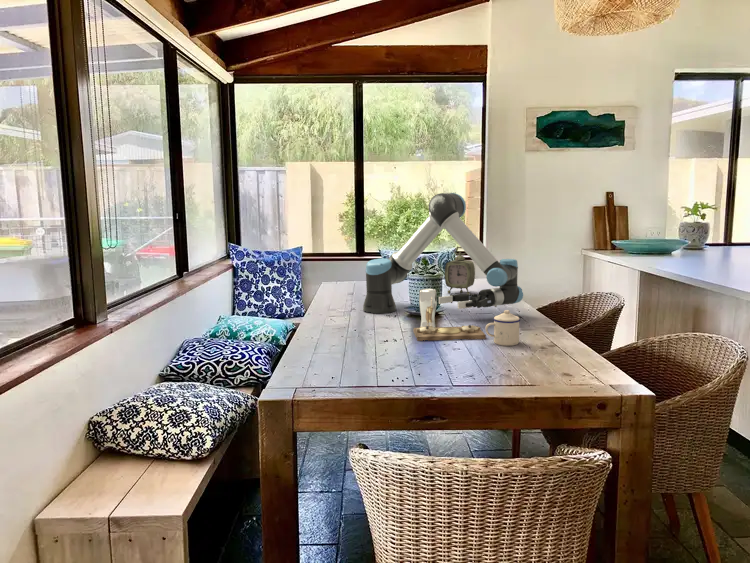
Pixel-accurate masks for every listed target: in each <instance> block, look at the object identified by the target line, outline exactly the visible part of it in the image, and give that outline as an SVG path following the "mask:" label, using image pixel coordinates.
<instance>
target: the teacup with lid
mask: <svg viewBox="0 0 750 563" xmlns="http://www.w3.org/2000/svg"><path fill="white" fill-rule="evenodd" d="M520 321H521V319H520V317H519V315H518V316H517V315H515V314H514V313H511V312H510V310H509V309H505V310H504V311H503V312H502V313H500V314H499V315H495V316H494V317H493V322H489V323H487V324H486V325H485V327H484V328H485V329H484V330H485V333H486V334H487V335H488V336H489V337H492V338H493V342H494V343H495V345H499V346H503V347H504V346H505V347H511V346H516V345H517V346H518V344H519V342H520ZM490 326H493V331H494V332H493V334H492V333H490V332H489V330H488V329H489V327H490Z"/></svg>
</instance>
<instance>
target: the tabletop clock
mask: <svg viewBox="0 0 750 563" xmlns="http://www.w3.org/2000/svg"><path fill="white" fill-rule="evenodd" d="M457 249H462V247H461V246H457V247H455V248H454V250H453V253H454V255H457V256H456V257H455V258H454V260H451V261H448V262H446V264H445V267H444V283H445V286H446V287H448V288H450V289H449V290H447V294H450V293H451V291H452V289H460V290H459V293H460V294H463V292H464V291H463V289H466V294H471V293H470V292H471V291H469V289H468V288H469V287H472V286H473V285H474V283H475V279H476V278H475V277H476V268H475V264H474V263H475V262H474V261H473V260H472V261H471V260H467V259H466V258H465V256H464V255H466V254H467V253H466V252H465V251H464V253H462V252H461V251H459V252H458V253H457V252H456V250H457Z"/></svg>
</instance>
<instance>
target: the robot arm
mask: <svg viewBox="0 0 750 563" xmlns="http://www.w3.org/2000/svg"><path fill="white" fill-rule="evenodd" d="M466 207H467V204H466V201H465V199H464V197H462V195H460V194H458V193H455V192H448V193H444V192H441V193H437V194H435V195H433V197H431V199H430V200H429V203H428V213H429V214H428V215H429V216H428V217H426V219H425V220H424V221H423V222H422V224H421V225H420V226H419V227H418V228H417V230H416V231H414V233H413V234H412V235H411V236H410V237H409V239H407V241H406V242H405V243H404V244H403V246H402V247H401V248H400V249H399V251H394V252H392V254H391V255H390V256H389V257H388V258H375V259H371V260H368V262H366V264H365V281H366V282H365V283H366V284H365V286H366V295H365V298H364V302H363V305H362V311H363V310H364V311H366V312H365V313H368V312H371V313H370V314H387V313H388V312H389V313H392V312H393V313H394V312H395V311H396V310H397V309H396V307H397V306H396V302H395V299H394V296H393V294H392V293H393V292H392V291H393V290H392V289H393V288H392V287H393V286H392V285H395V284H401V283H402V282H404V281H405V280H407V278H408V277H407V273H409V272H410V271H411V270H412V269H413V263H414V262H415V261H416V260H417V259H418V258H419V257H420V256H421V254H422V253H423V252H424V251H425V250H426V249H427V247H428V246H429V245H430V244H431V243H432V242H433V241H434V240H435V239H436V237H437V236H438V235H440V233H441V231H443V229H445V230H446V232H447V233H448V234H449V235H450V236H451V237H452V239H453V240H454V241H455V242H456V243H457V244H458V245H459V247H462V248H461V249H462V250H463V251H464V253H465V252H466V254H467V256H468V257H469V258H470V259H471V260H472V262H473V263H475V265H476V266H477V267H478V268H479V269H480V271H482V272H483V273H484V275H485V276H486V281H487V283H488V285H490V286H492V288H485V289H481V290H479V292H478V293H470V294H467V293H460V294H459V293H458V294H456V293H455V294H450V293H449V295H447V296H438V304H440V305H441V304H448V303H450V304H453V302H457V309H458V310H463V309H471V308H477V309H480V308H492V307H494V308H497V307H498V306H504V305H506V306H507V305H513V304H517V303H520V302H521V301H522V300H523V298H524V292H523V289H522V287H520V286H519V285H518V273H519V272H518V269H519V266H518V260H517V259H515V258H502V259H500V260H498V259H497V258H496V257H495V256H494V254H493V253H492V252H491V251H490V250H489V249H488V248H487V246H485V245H484V244H483V243H482V241H481V240H480V239H479V238H478V236H476V235H475V234H474V232H473V231H472V230H471V229H470V228H469V226H468V225H467V224H466V223H465V222H464V221H463V220H462V217H463V216H464V214H465V213H466V209H467V208H466ZM410 273H411V272H410ZM410 273H409V274H410ZM493 287H495V288H493ZM364 311H363V312H364ZM389 313H388V314H389Z"/></svg>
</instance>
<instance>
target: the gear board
mask: <svg viewBox="0 0 750 563" xmlns="http://www.w3.org/2000/svg"><path fill="white" fill-rule="evenodd" d="M413 334H414V337H415V338H417V339H416V341H417V342H421V341H422V342H424V341H425V340H428V341H454V340H453V339H466V340H486V339H487V335H486V334H485V332H484V331H483V330H482V329H481V327H480V326H476V325H474V324H473V325H472V324H468V325H461V326H440V327H439V326H437V327H431V326H430V327H429V326H426V327H420V326H419V327H413ZM423 340H424V341H423Z"/></svg>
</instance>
